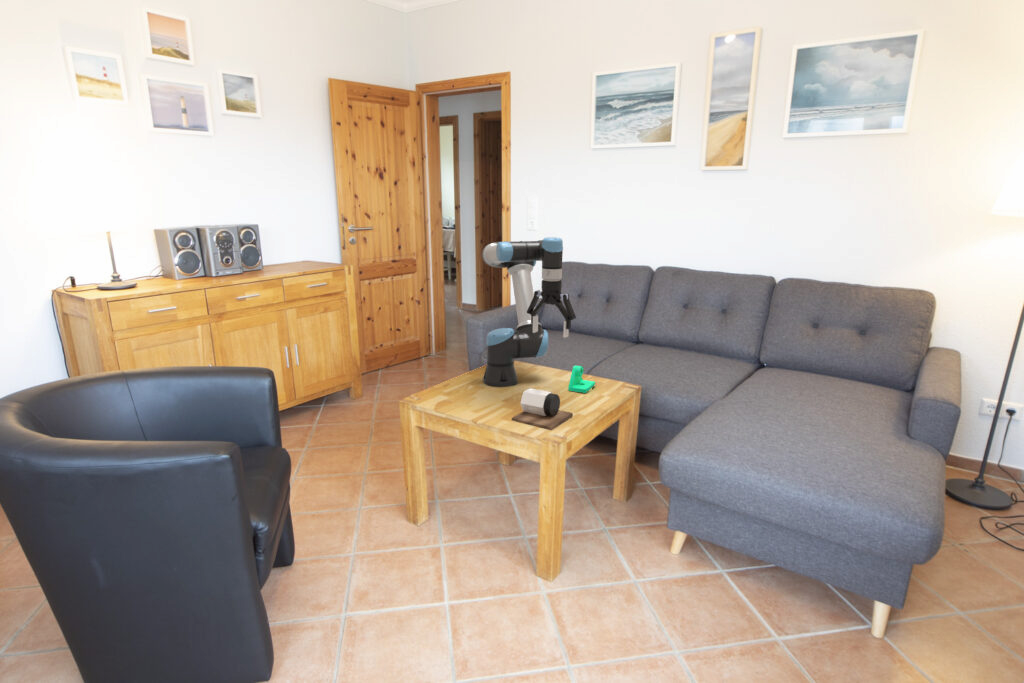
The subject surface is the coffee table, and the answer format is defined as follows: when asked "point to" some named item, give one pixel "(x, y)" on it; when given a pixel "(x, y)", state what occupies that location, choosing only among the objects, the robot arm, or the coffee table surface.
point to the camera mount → (579, 381)
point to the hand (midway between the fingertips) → (550, 334)
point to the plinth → (543, 419)
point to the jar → (540, 402)
